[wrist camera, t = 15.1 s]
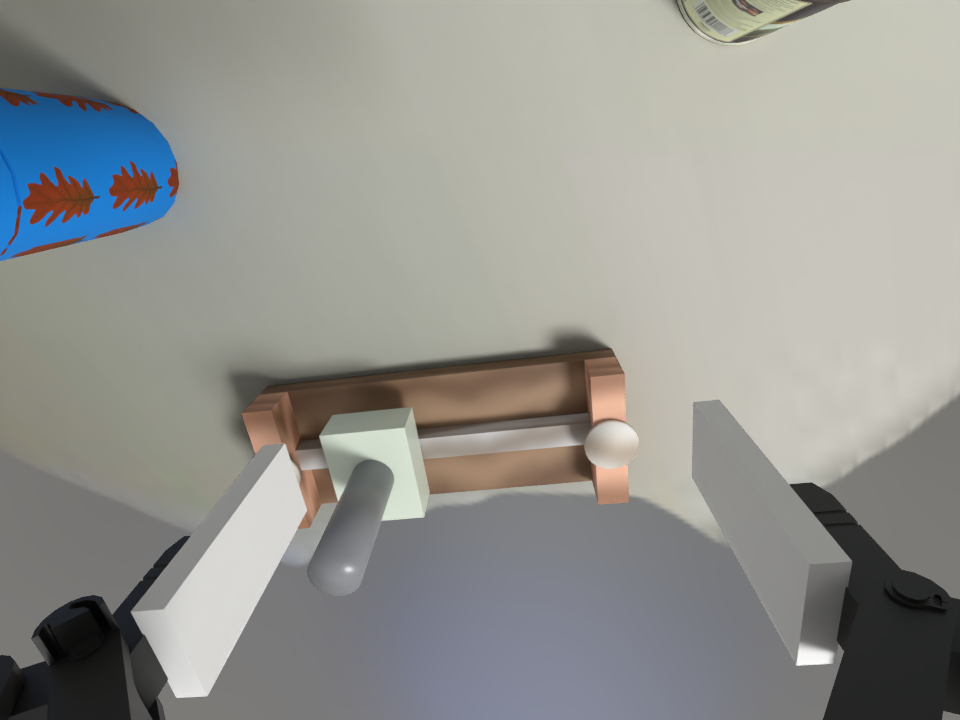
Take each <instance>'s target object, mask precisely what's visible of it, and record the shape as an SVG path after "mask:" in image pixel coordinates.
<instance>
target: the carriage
mask: <svg viewBox="0 0 960 720" xmlns="http://www.w3.org/2000/svg"><path fill="white" fill-rule="evenodd" d="M319 438H320V441H321V444H322V448H323V451H324V455H325V458H326V462H327V465H328V468H329V472H330V475H331V479H332V482H333V486H334V489H335V492H336V496H337V499H338V504H337V506H336V508H335V510H334V512H333V514H332V517H331V519H330V521H329V523H328V525H327V527H326V529H325V531H324V534H323V536H322V538H321V540H320V542H319V544H318V546H317V549H316V551H315V553H314V555H313V557H312V559H311V561H310V563H309V566H308V569H307V574H308V578H309V580H310V582H311V583H312V584H313V586H314V587H316V588H317V589H318V590H320V591H321V592H323V593H326V594H329V595H334V596H343V595H348V594H351V593H352V592H354V591H355V590H357V589H358V587H359V586H360V584H361V581H362V578H363V575H364V571H365V569H366V566H367V563H368V560H369V557H370V554H371V551H372V548H373V545H374V541H375V539H376V536H377V533H378V530H379V527H380V523H381V521H382V520H396V519H408V518H420V517H424V516H425V511H426V506H427V502H428V497H429V493H430V491H429V486H428V481H427V476H426V472H425V467H424V462H423V457H422V452H421V448H420V443H419V438H418V433H417V428H416V424H415V419H414V414H413V409H412V407H406V408H397V409H387V410H377V411H367V412H357V413H347V414H337V415H332V417H331V418H330V420H329V421H328V423H327V424H326V426H325V428H324V429H323V431H322V432H321V434H320V435H319Z"/></svg>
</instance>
